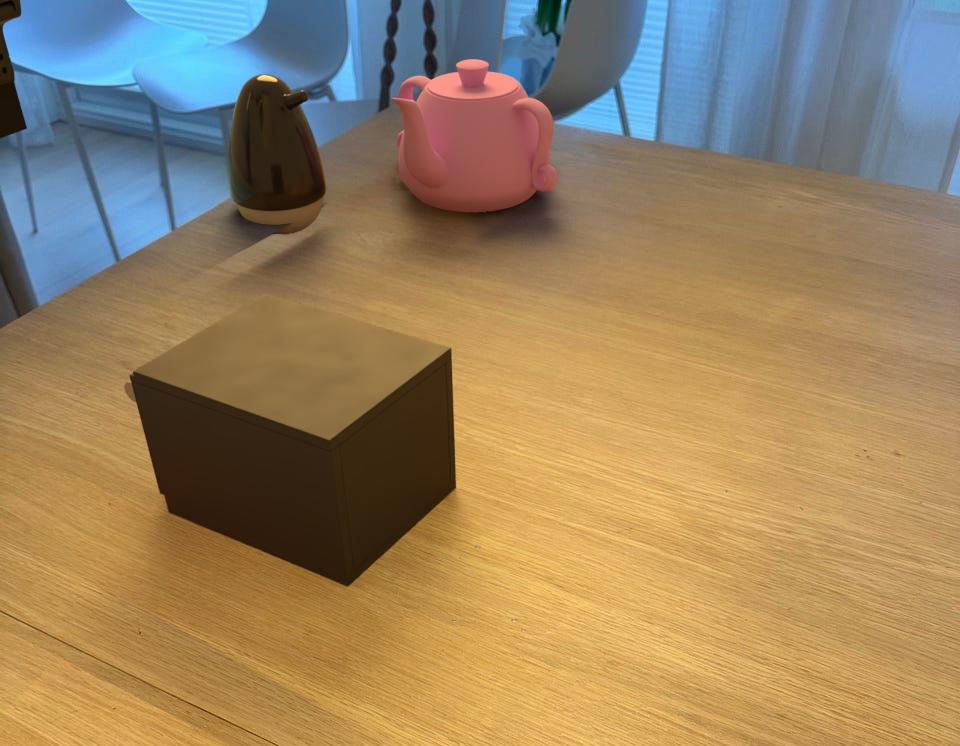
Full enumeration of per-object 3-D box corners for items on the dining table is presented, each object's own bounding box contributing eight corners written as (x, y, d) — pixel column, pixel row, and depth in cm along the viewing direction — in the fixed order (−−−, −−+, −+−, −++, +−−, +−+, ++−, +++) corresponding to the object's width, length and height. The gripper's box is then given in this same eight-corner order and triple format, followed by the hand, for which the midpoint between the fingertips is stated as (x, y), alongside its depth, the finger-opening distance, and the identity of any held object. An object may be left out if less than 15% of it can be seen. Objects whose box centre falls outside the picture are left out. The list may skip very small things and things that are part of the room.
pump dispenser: (292, 252, 114) (271, 96, 104) (217, 232, 118) (190, 80, 108) (350, 219, 120) (336, 69, 110) (277, 201, 125) (257, 55, 114)
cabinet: (168, 512, 80) (132, 371, 73) (285, 427, 89) (265, 292, 81) (347, 587, 74) (329, 440, 66) (456, 488, 82) (451, 347, 74)
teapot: (327, 210, 122) (312, 76, 113) (443, 153, 135) (438, 29, 126) (486, 255, 113) (485, 114, 103) (595, 189, 126) (602, 58, 116)
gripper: (6, -322, 59) (111, 132, 75) (-143, -323, 65) (-15, 102, 81) (-114, -317, 55) (26, 166, 71) (-263, -318, 60) (-102, 132, 76)
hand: (4, 132), depth 76 cm, fingers closed
